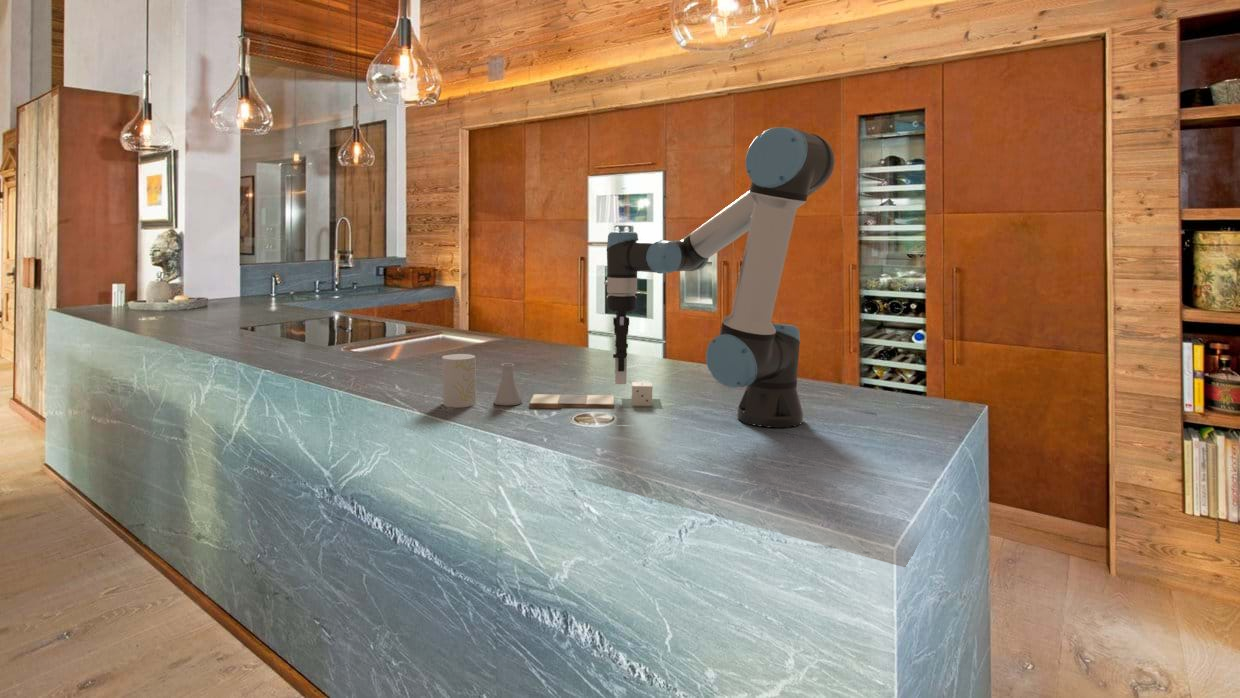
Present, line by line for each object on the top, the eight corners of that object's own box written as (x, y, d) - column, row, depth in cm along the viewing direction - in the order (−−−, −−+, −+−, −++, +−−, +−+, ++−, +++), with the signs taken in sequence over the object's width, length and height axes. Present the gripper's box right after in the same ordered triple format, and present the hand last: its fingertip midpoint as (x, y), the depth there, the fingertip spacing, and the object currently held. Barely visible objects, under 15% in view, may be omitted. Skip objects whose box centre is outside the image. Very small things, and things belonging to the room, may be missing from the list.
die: (650, 401, 180) (651, 381, 179) (652, 405, 175) (652, 386, 174) (631, 400, 180) (631, 381, 179) (631, 405, 175) (632, 385, 174)
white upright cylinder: (457, 409, 170) (456, 360, 168) (436, 404, 175) (435, 357, 173) (483, 403, 176) (482, 356, 174) (461, 398, 181) (460, 352, 179)
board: (613, 399, 182) (614, 395, 182) (614, 408, 172) (614, 404, 172) (533, 398, 182) (533, 394, 182) (529, 407, 172) (529, 403, 172)
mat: (659, 400, 182) (659, 398, 182) (662, 409, 173) (662, 408, 173) (621, 399, 182) (621, 398, 182) (622, 409, 172) (622, 407, 172)
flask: (519, 406, 173) (519, 367, 172) (490, 406, 173) (490, 367, 172) (524, 400, 180) (524, 362, 179) (496, 399, 181) (496, 361, 179)
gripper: (606, 290, 185) (605, 368, 189) (606, 298, 161) (605, 388, 164) (635, 290, 185) (633, 368, 189) (638, 299, 161) (636, 389, 164)
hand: (620, 378), depth 176 cm, fingers open, 13 cm apart
